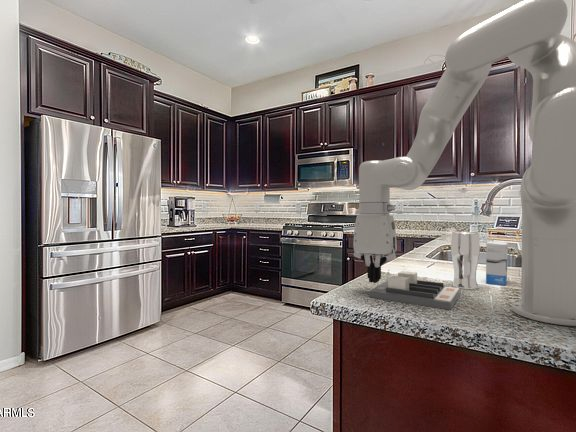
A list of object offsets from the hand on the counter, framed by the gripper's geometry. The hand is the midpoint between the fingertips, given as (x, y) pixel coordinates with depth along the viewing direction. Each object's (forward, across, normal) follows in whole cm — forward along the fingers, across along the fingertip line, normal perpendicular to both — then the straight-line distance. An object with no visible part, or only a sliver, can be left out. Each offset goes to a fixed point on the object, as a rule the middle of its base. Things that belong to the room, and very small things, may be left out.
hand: (374, 281), depth 82 cm
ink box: (+3, -25, -33) cm, 42 cm away
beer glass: (+3, -18, -21) cm, 28 cm away
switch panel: (+3, -9, -4) cm, 10 cm away
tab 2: (+1, -6, -8) cm, 10 cm away
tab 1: (+1, -6, 0) cm, 6 cm away
